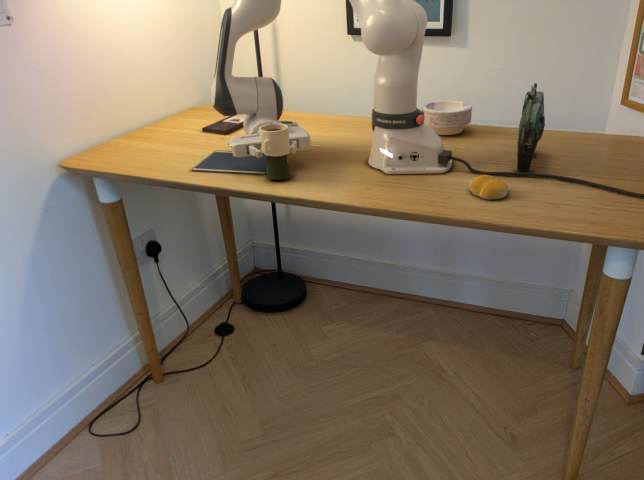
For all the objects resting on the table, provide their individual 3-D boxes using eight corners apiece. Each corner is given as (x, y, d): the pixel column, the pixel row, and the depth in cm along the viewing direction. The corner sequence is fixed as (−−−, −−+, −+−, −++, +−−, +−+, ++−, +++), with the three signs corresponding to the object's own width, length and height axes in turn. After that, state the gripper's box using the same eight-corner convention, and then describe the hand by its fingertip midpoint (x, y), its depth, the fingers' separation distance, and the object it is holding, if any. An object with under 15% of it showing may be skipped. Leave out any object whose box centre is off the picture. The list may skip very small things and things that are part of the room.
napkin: (283, 154, 158) (282, 153, 158) (263, 175, 145) (263, 173, 145) (216, 151, 162) (216, 150, 162) (191, 171, 148) (191, 169, 148)
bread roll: (493, 203, 128) (495, 187, 126) (463, 192, 134) (464, 176, 131) (515, 194, 132) (517, 178, 130) (485, 183, 138) (487, 168, 136)
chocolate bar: (201, 128, 178) (235, 113, 192) (202, 131, 178) (235, 116, 192) (225, 131, 175) (257, 116, 189) (225, 134, 175) (257, 119, 189)
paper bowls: (420, 124, 182) (421, 99, 178) (467, 124, 181) (469, 99, 177) (422, 138, 169) (423, 112, 165) (472, 138, 169) (475, 111, 164)
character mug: (274, 169, 148) (269, 120, 142) (299, 172, 147) (295, 122, 140) (256, 184, 140) (250, 132, 133) (282, 187, 138) (277, 134, 131)
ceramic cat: (517, 149, 159) (527, 76, 149) (541, 151, 158) (552, 77, 147) (510, 174, 143) (520, 93, 133) (536, 176, 142) (548, 95, 131)
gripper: (224, 129, 145) (232, 144, 134) (301, 120, 151) (315, 135, 140) (228, 152, 149) (236, 170, 138) (303, 143, 154) (316, 159, 143)
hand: (276, 152), depth 139 cm, fingers closed on character mug, 7 cm apart
